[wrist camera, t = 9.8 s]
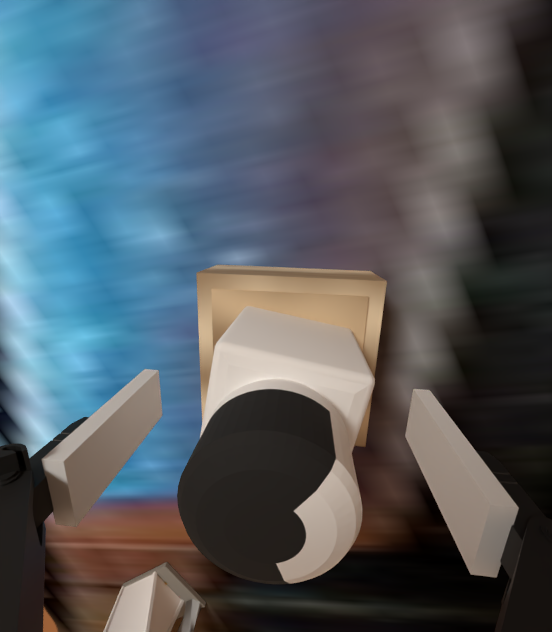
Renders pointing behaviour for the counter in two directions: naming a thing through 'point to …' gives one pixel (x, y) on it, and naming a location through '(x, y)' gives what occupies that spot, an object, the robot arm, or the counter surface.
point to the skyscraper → (155, 603)
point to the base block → (290, 306)
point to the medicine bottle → (278, 449)
